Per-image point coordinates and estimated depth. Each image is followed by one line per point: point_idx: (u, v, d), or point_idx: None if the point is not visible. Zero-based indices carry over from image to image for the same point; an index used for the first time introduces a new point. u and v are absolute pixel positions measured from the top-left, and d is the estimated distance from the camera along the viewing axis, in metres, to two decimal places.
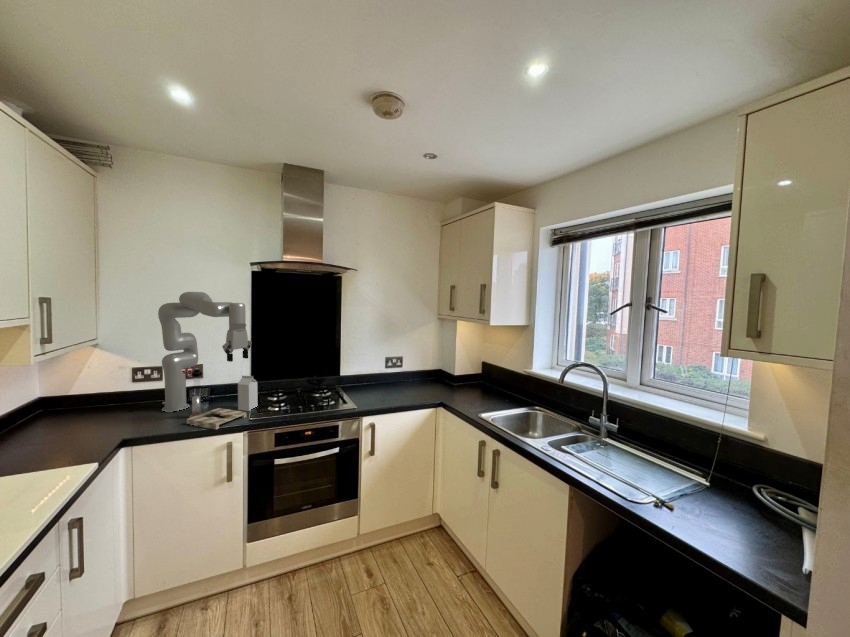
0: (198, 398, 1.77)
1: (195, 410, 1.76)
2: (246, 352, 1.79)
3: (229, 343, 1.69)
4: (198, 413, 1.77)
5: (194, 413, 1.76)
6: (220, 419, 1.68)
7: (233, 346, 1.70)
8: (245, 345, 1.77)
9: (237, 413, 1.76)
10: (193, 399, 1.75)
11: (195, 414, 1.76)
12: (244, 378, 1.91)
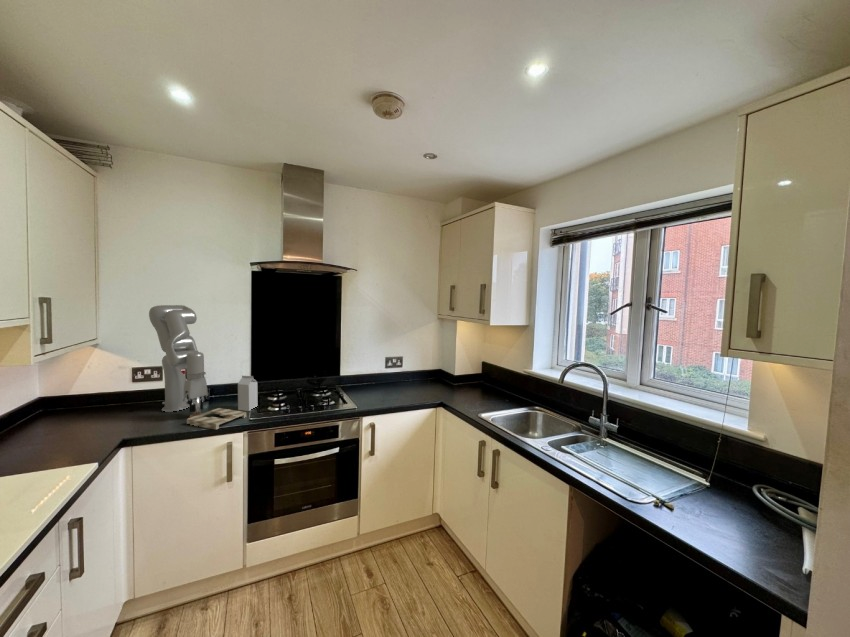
0: (198, 398, 1.77)
1: (195, 410, 1.76)
2: (201, 403, 1.79)
3: (187, 397, 1.72)
4: (198, 413, 1.77)
5: (194, 413, 1.76)
6: (220, 419, 1.68)
7: (190, 396, 1.72)
8: (204, 393, 1.79)
9: (237, 413, 1.76)
10: None
11: (195, 414, 1.76)
12: (244, 378, 1.91)
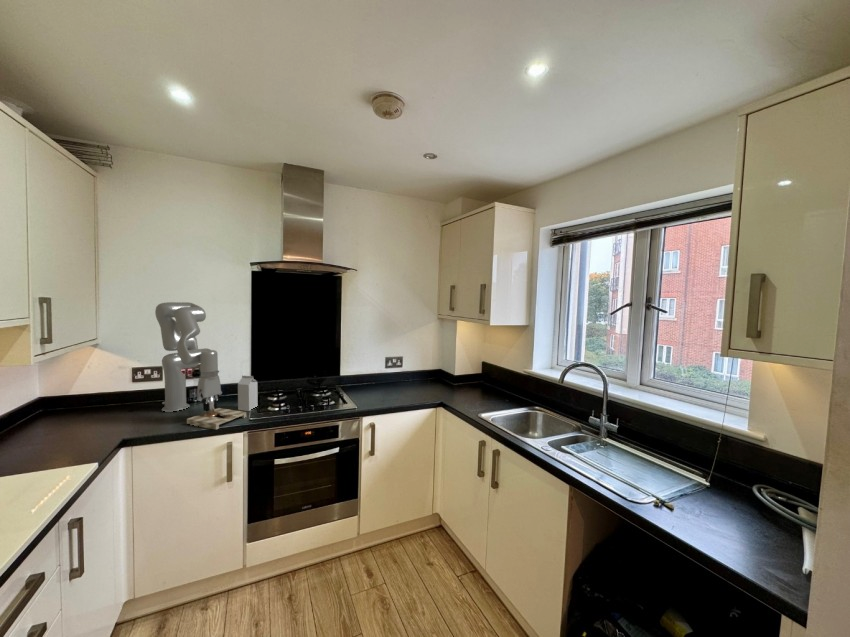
0: (212, 397, 1.74)
1: (209, 409, 1.73)
2: (214, 402, 1.76)
3: (201, 395, 1.69)
4: (212, 412, 1.74)
5: (208, 412, 1.73)
6: (220, 419, 1.68)
7: (204, 395, 1.69)
8: (218, 392, 1.76)
9: (237, 413, 1.76)
10: None
11: (209, 413, 1.73)
12: (244, 378, 1.91)
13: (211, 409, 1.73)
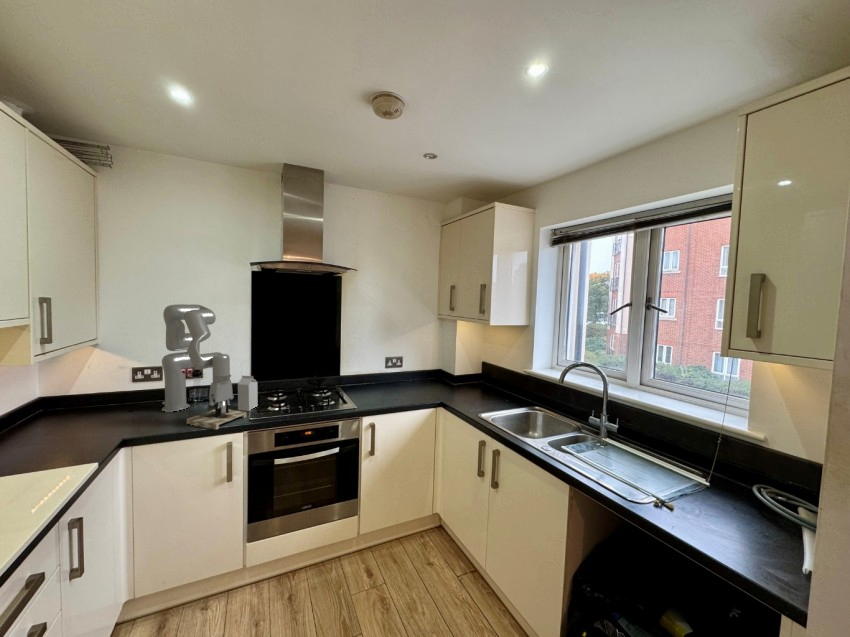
0: (224, 401, 1.71)
1: (221, 414, 1.71)
2: (226, 407, 1.73)
3: (213, 400, 1.67)
4: None
5: (220, 417, 1.71)
6: (220, 419, 1.68)
7: (217, 399, 1.67)
8: (229, 396, 1.74)
9: (237, 413, 1.76)
10: None
11: None
12: (244, 378, 1.91)
13: (223, 414, 1.71)
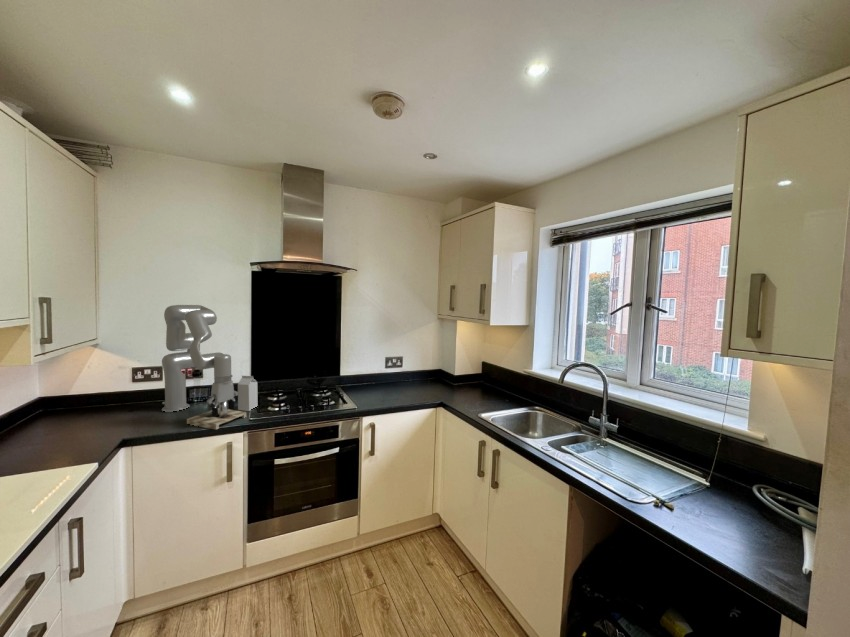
0: (225, 402, 1.71)
1: (222, 414, 1.70)
2: (232, 403, 1.76)
3: (214, 397, 1.66)
4: None
5: (221, 417, 1.70)
6: (220, 419, 1.68)
7: (218, 400, 1.67)
8: (231, 397, 1.74)
9: (237, 413, 1.76)
10: (220, 403, 1.70)
11: None
12: (244, 378, 1.91)
13: (224, 414, 1.71)
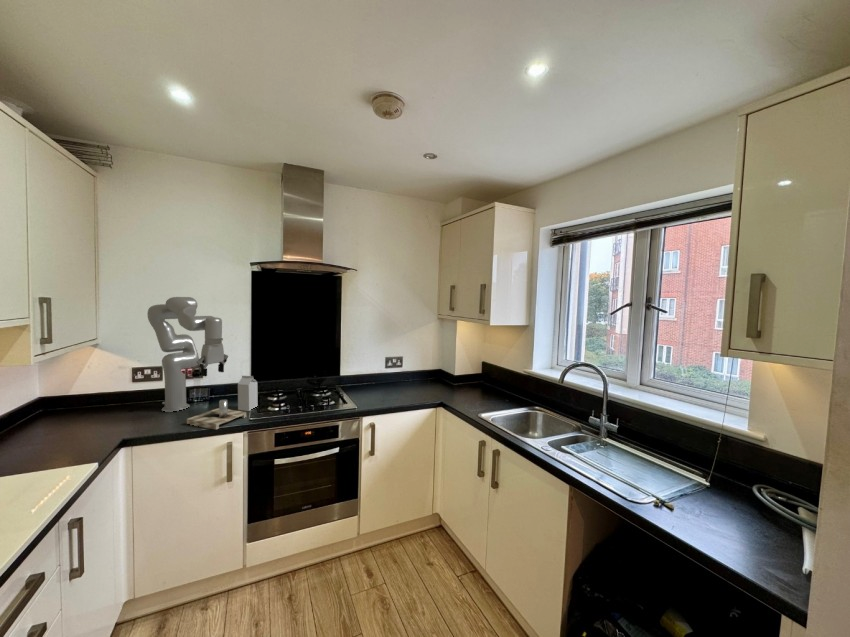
0: (225, 402, 1.71)
1: (222, 414, 1.70)
2: (222, 366, 1.79)
3: (204, 358, 1.70)
4: None
5: (221, 417, 1.70)
6: (220, 419, 1.68)
7: (208, 361, 1.70)
8: (221, 359, 1.77)
9: (237, 413, 1.76)
10: (220, 403, 1.70)
11: None
12: (244, 378, 1.91)
13: (224, 414, 1.71)
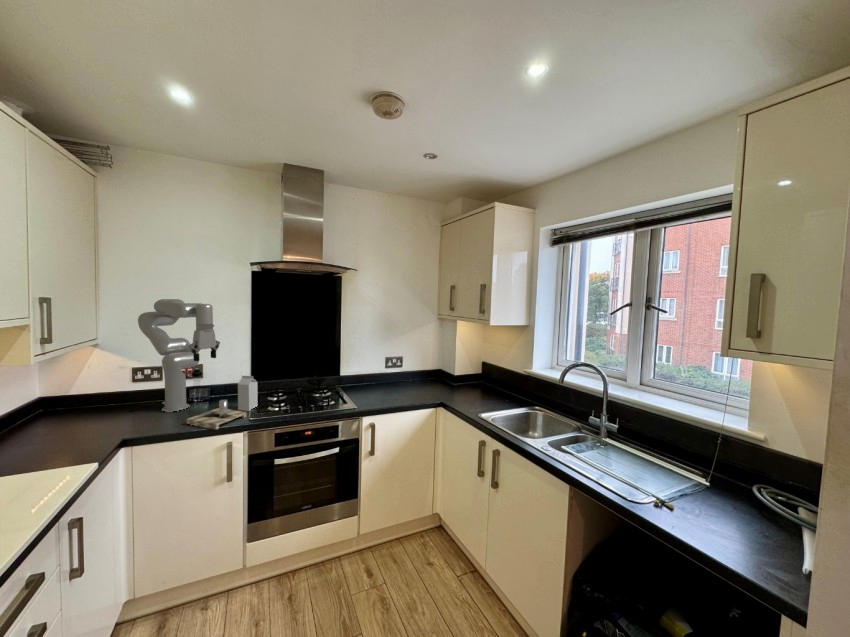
0: (225, 402, 1.71)
1: (222, 414, 1.70)
2: (214, 352, 1.83)
3: (195, 343, 1.73)
4: None
5: (221, 417, 1.70)
6: (220, 419, 1.68)
7: (199, 346, 1.74)
8: (212, 345, 1.81)
9: (237, 413, 1.76)
10: (220, 403, 1.70)
11: None
12: (244, 378, 1.91)
13: (224, 414, 1.71)
